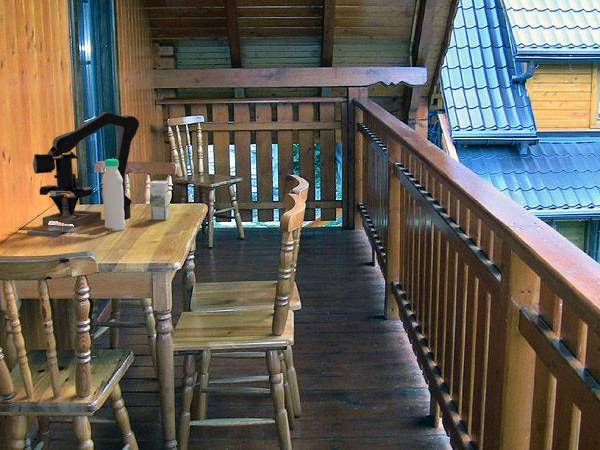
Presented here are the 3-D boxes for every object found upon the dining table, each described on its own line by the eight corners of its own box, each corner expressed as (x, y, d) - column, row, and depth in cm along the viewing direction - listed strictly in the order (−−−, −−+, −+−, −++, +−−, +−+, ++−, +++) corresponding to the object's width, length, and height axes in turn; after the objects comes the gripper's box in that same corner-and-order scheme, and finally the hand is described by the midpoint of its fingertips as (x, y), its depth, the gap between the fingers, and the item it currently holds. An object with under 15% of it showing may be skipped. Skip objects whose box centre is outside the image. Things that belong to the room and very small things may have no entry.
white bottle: (120, 231, 291) (116, 160, 286) (101, 231, 293) (97, 160, 288) (128, 227, 298) (124, 158, 293) (110, 227, 299) (106, 158, 294)
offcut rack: (101, 222, 308) (101, 211, 308) (76, 230, 294) (75, 219, 293) (69, 220, 313) (68, 209, 312) (43, 228, 298) (42, 217, 297)
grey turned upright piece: (73, 228, 298) (71, 195, 295) (57, 228, 298) (55, 195, 295) (78, 225, 303) (76, 192, 301) (62, 225, 304) (60, 192, 301)
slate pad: (71, 231, 292) (70, 228, 292) (56, 236, 285) (56, 233, 284) (42, 229, 296) (42, 226, 296) (27, 234, 288) (27, 231, 288)
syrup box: (169, 217, 316) (168, 180, 313) (165, 220, 310) (164, 182, 308) (155, 217, 317) (153, 179, 314) (150, 220, 311) (149, 182, 308)
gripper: (99, 169, 301) (102, 212, 304) (55, 167, 307) (58, 209, 310) (81, 173, 291) (84, 217, 294) (37, 171, 297) (40, 214, 300)
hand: (67, 214), depth 300 cm, fingers closed on grey turned upright piece, 3 cm apart
